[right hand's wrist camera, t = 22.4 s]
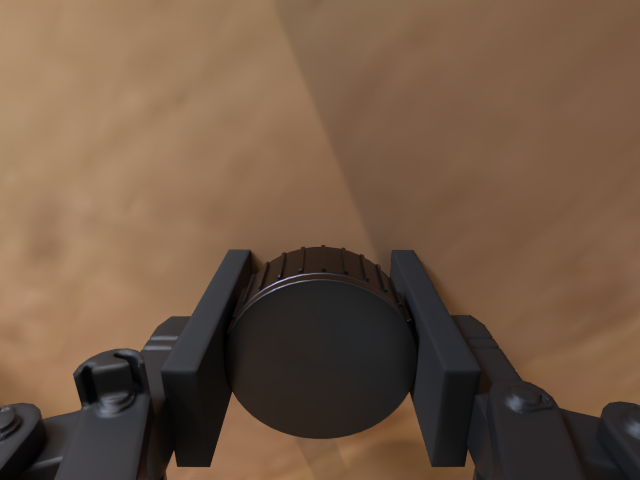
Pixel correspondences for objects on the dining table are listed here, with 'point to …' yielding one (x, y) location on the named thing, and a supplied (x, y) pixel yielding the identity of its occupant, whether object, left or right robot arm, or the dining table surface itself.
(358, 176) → the dining table surface
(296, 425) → the lid
